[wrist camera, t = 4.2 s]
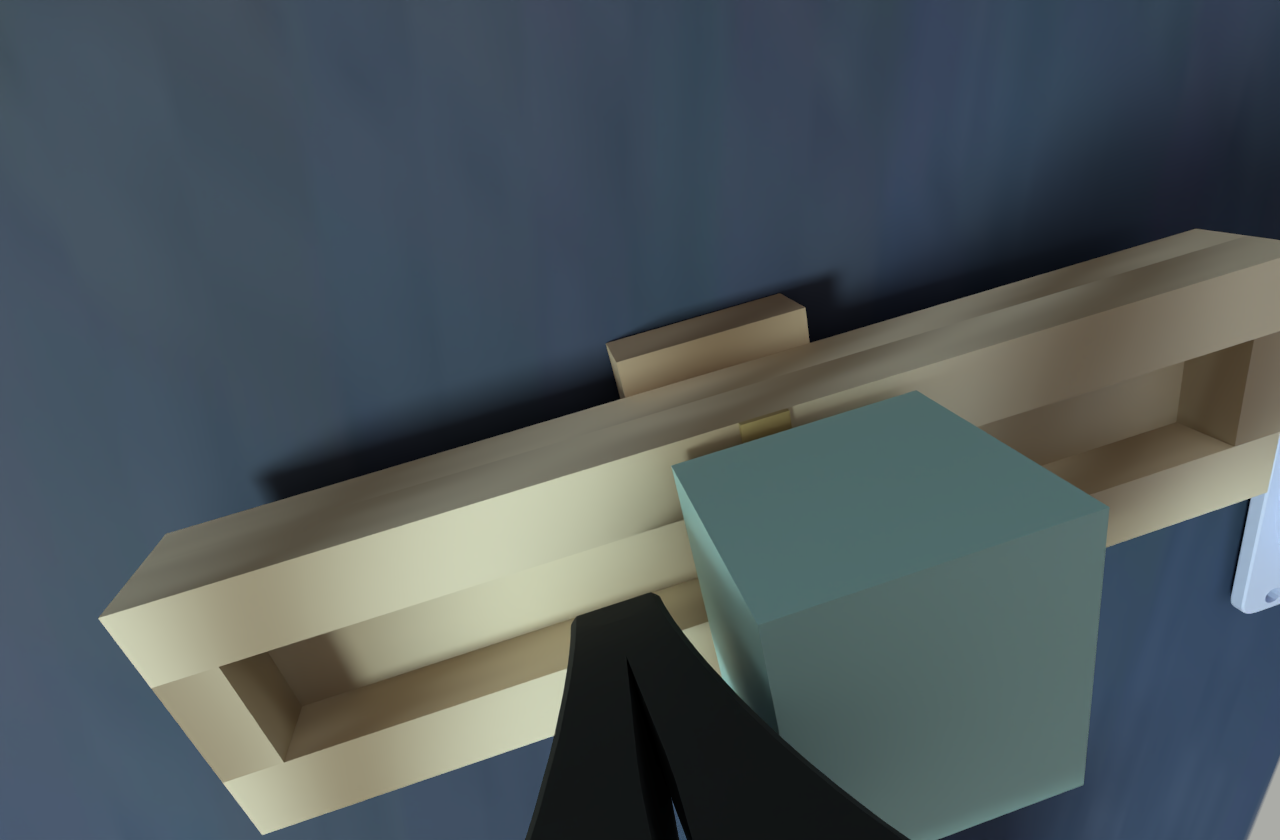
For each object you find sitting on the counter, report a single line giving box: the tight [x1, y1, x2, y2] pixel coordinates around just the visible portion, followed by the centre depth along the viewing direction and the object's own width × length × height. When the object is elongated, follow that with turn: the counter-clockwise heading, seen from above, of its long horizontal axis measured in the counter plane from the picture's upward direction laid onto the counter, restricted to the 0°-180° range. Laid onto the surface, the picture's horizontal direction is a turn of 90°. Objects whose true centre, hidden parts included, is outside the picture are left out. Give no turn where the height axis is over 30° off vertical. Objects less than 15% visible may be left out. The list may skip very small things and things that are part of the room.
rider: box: [671, 390, 1110, 840], centre depth 10 cm, size 4×5×5 cm
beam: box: [98, 229, 1280, 835], centre depth 13 cm, size 20×6×4 cm, turn 103°
